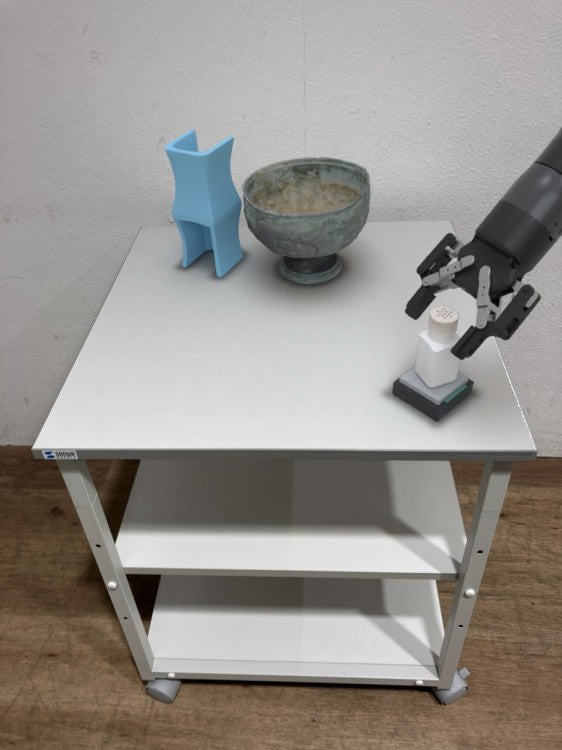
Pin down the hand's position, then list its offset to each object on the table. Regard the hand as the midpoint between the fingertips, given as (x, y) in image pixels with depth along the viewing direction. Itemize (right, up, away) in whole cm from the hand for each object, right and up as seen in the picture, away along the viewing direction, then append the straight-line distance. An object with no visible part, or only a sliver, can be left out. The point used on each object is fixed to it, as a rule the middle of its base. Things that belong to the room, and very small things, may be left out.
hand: (432, 335), depth 71 cm
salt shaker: (+2, -5, +5) cm, 7 cm away
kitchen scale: (+2, -7, +7) cm, 10 cm away
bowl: (-13, +13, +30) cm, 35 cm away
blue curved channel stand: (-28, +15, +34) cm, 46 cm away
